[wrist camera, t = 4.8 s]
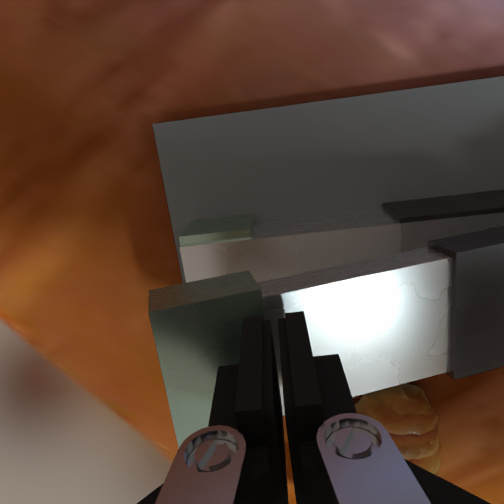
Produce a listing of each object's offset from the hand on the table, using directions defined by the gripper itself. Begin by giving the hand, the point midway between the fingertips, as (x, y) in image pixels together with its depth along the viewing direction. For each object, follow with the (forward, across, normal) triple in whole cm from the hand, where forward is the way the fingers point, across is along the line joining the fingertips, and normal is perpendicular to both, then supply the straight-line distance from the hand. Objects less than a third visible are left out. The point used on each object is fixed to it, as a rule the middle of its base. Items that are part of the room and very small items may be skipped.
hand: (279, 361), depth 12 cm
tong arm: (+3, -4, 0) cm, 5 cm away
